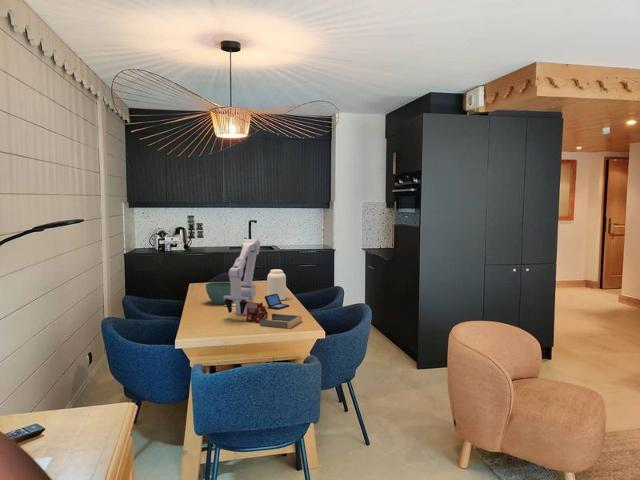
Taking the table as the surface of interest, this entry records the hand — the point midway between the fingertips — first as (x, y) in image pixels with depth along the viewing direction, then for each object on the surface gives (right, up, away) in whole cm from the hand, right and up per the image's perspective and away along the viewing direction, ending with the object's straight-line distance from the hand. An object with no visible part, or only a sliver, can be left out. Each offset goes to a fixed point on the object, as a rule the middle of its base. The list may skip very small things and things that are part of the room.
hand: (236, 312), depth 268 cm
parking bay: (+25, -4, -9) cm, 27 cm away
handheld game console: (+20, -2, +31) cm, 37 cm away
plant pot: (-18, 0, +43) cm, 46 cm away
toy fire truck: (+12, -4, -4) cm, 13 cm away
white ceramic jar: (+18, +1, +55) cm, 58 cm away
